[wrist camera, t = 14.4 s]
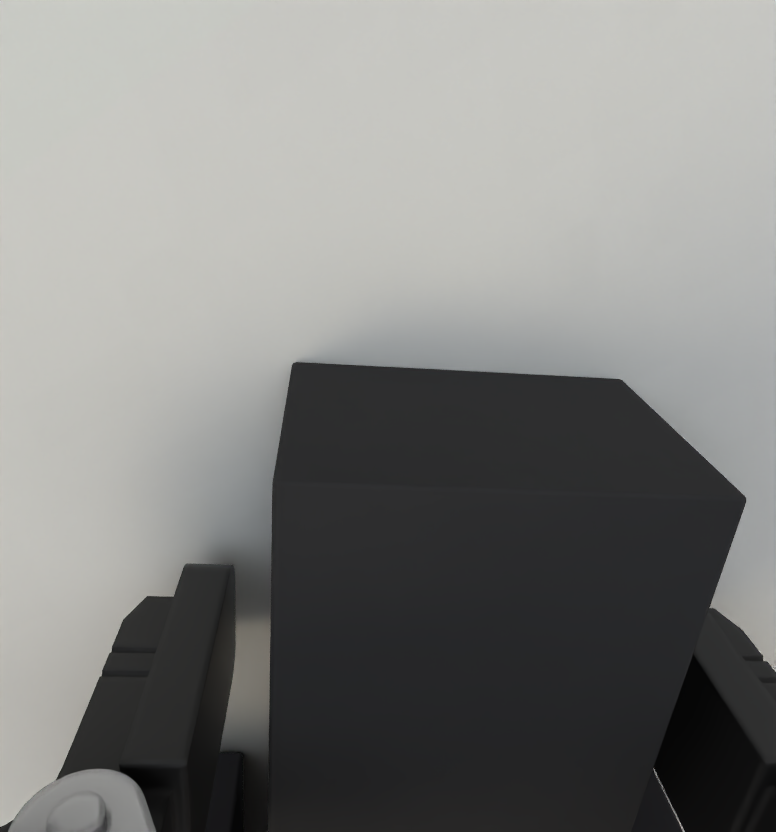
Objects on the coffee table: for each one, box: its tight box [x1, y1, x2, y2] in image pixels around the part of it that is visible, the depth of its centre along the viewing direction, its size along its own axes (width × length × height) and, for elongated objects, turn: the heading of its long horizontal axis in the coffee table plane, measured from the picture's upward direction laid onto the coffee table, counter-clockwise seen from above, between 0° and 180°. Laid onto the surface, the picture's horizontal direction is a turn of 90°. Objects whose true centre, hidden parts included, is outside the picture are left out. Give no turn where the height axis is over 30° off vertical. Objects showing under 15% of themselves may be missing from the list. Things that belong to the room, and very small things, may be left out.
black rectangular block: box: [268, 362, 746, 832], centre depth 11 cm, size 12×5×4 cm, turn 175°
